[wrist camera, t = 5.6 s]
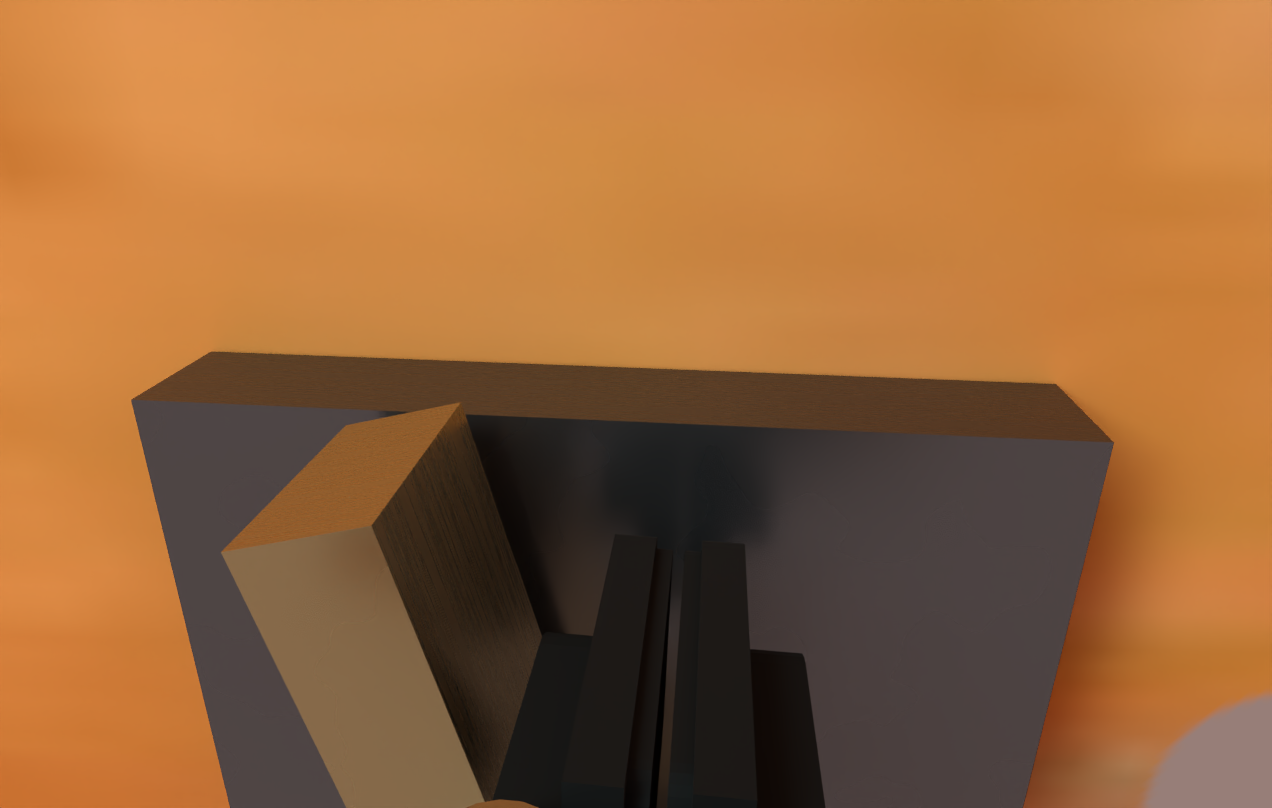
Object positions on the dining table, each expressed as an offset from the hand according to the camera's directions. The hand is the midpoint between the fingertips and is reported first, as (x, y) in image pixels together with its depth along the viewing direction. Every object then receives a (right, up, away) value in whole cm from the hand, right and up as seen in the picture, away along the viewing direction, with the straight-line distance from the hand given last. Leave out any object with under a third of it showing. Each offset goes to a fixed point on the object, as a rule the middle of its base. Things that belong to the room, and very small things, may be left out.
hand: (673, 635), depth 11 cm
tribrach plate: (-1, -7, +6) cm, 9 cm away
